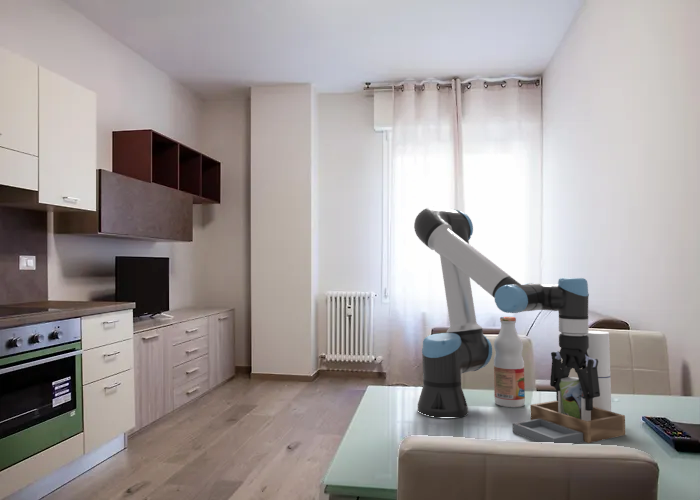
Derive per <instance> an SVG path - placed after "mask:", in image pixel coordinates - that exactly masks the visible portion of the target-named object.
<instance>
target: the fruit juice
mask: <svg viewBox="0 0 700 500" xmlns="http://www.w3.org/2000/svg"><path fill="white" fill-rule="evenodd" d="M499 320H500V321H499V322H500V324H501V326H500V330H499V332H498V335H497V336H496V337H495V339H494V341H493V349H494V350H495V354H494V358H493V381H494V383H493V385H494V386H493V388H494V389H493V390H494V391H493V392H494V403H495V405H498V406H501V407H506V408H521V407H523V406H525V402H526V397H525V395H526V392H525V391H526V389H525V386H526V385H525V361H524V357H523V349H524V342H523V340H522V338H521V337H520V336H519V335H518V332H517V329H516V321H517V317H515V316H501V317H500V318H499Z"/></svg>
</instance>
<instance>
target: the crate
mask: <svg viewBox="0 0 700 500" xmlns="http://www.w3.org/2000/svg"><path fill="white" fill-rule="evenodd" d="M539 418H541V419H544V420H547V421H550V422H553V423H556V424H558V425H561V426H564V427H567V428H570V429H573V430H576V431H579V432H582V433H583V443H587V444H591V443H594V442H599V441H604V440H608V439H612V438H617V437H621V436H622V437H623V436H626V416H625V415H624V414H620V413H617V412H614V411H611V412H610V411H607V410H603V409H600V408H596V407H593V410H591V420H590V421H585V420H582V419H578V418H575V417H572V416H569V415H566V414H562V413H559V412H558V401H557V400H553V401H545V402H539V403H533V404H530V420H533V419H539Z"/></svg>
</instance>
